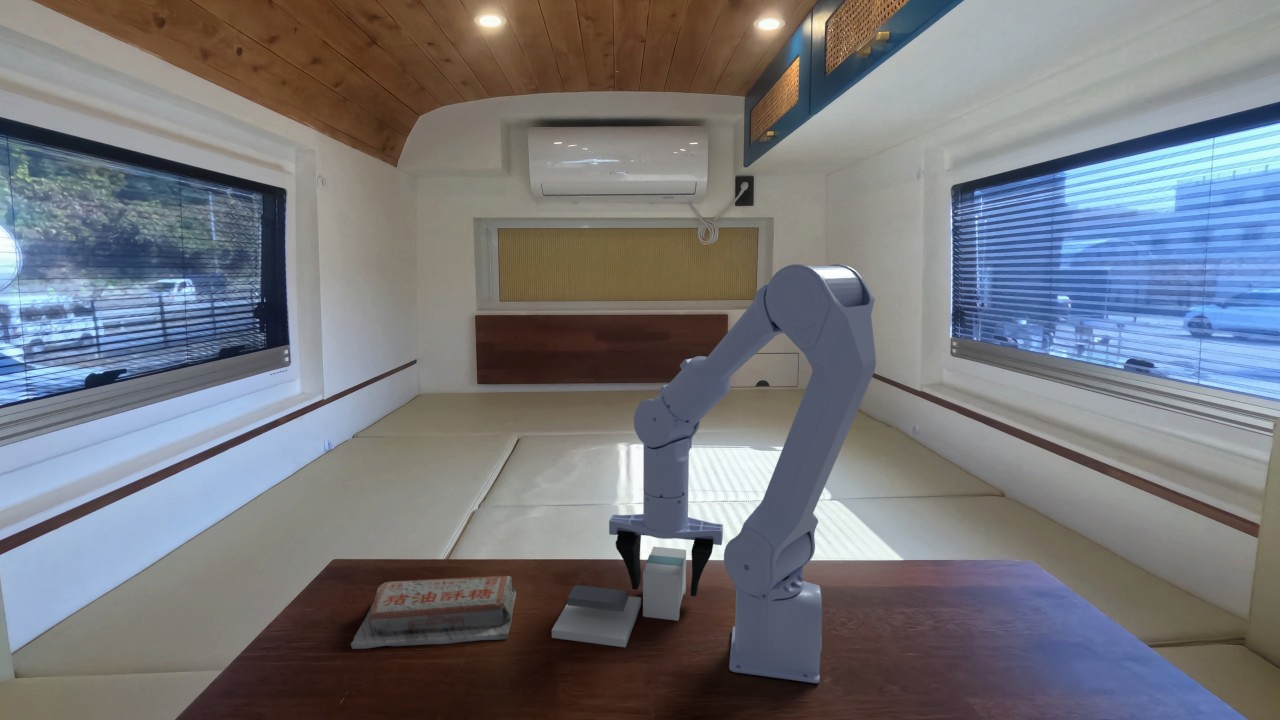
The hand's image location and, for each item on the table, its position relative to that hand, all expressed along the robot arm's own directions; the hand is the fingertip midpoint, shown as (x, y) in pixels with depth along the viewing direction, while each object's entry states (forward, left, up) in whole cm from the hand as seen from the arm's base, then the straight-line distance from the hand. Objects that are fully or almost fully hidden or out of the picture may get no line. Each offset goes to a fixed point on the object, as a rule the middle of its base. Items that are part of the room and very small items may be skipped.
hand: (665, 588), depth 78 cm
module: (0, 0, -2) cm, 2 cm away
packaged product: (+27, +9, -3) cm, 29 cm away
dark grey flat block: (+7, +6, +1) cm, 9 cm away
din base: (+7, +6, -2) cm, 10 cm away
